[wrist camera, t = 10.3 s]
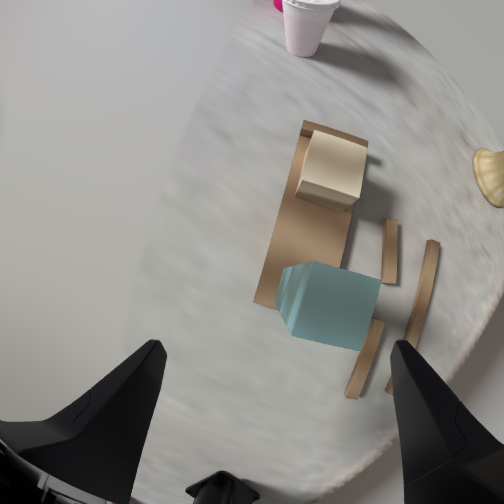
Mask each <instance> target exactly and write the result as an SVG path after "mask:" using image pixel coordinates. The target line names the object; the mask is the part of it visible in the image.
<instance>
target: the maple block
mask: <svg viewBox="0 0 504 504" xmlns="http://www.w3.org/2000/svg"><path fill="white" fill-rule="evenodd" d="M366 154H367V147H364V146H361V145H359V144H356V143H353V142H350V141H347V140H345V139H342V138H339V137H336V136H333V135H329V134H326V133H323V132H320V131H317V130H314V132H313V135H312V138H311V140H310V143H309V146H308V149H307V151H306V155H305V159H304V163H303V166H302V170H301V174H300V178H299V182H298V186H297V190H296V193H295V197H297V198H301V199H304V200H308V201H311V202H314V203H317V204H321V205H324V206H327V207H330V208H333V209H337V210H340V211H344V210H345V209H346V208H347V207H349V206H350V205H351V204H352V203H354V202H355V201H356V200H358V199H359V197H360V191H361V186H362V180H363V174H364V168H365V161H366Z"/></svg>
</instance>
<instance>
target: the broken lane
mask: <svg viewBox="0 0 504 504" xmlns="http://www.w3.org/2000/svg"><path fill="white" fill-rule="evenodd" d="M382 225H383V236H382V271H381V280H382V281H381V283H393V284H396V277H397V247H398V227H397V220H394V219H385V220H383V221H382ZM439 249H440V243H439V242H437V241H435V240H427V243H426V249H425V255H424V261H423V266H422V271H421V276H420V280H419V285H418V289H417V294H416V298H415V302H414V306H413V309H412V313H411V317H410V320H409V324H408V327H407V330H406V334H405V337H404V339H406V340H407V341H408V342H409V343H410V344H411V345H412V346H413V347H414V348H415V349H416V345H417V342H418V339H419V336H420V333H421V329H422V326H423V323H424V319H425V315H426V312H427V308H428V304H429V300H430V295H431V291H432V287H433V282H434V277H435V272H436V267H437V261H438V255H439ZM385 323H386V322H384V321H381V320H377V319H373V318H371V321H370V324H369V327H368V331H367V334H366V337H365V340H364V343H363V346H362V349H361V351H360V353H359V356H358V359H357V362H356V365H355V367H354V370H353V373H352V375H351V378H350V380H349V383H348V386H347V388H346V390H345V393H344V395H345V396H346V398H349V399H356V400H358V397H359V395H360V393H361V390H362V388H363V385H364V383H365V380H366V378H367V375H368V373H369V370H370V367H371V365H372V362H373V359H374V356H375V354H376V351H377V348H378V345H379V342H380V339H381V336H382V332H383V329H384V326H385ZM385 391H386V392H387V393H388V394H393V386H392V374H391V377H390V379H389V382H388V384H387V387H386V389H385Z"/></svg>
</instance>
